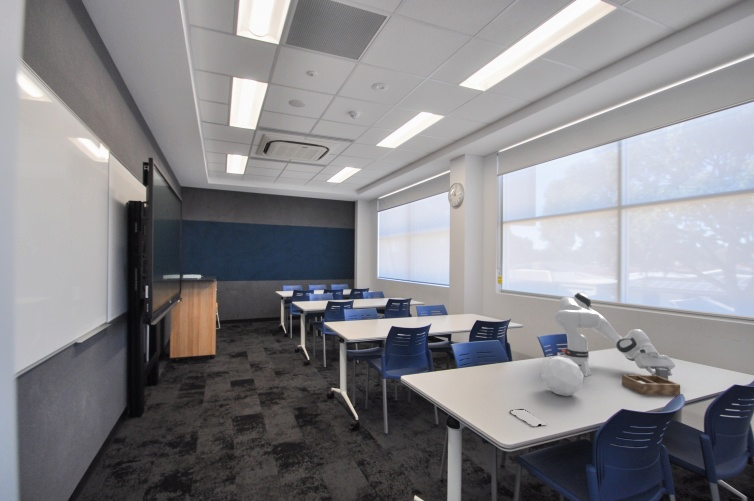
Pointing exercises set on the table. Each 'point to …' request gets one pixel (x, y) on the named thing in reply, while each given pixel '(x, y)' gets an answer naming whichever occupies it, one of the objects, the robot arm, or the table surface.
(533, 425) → the table surface
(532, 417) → the table surface
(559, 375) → the geometric polyhedron
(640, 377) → the parts box
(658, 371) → the connector
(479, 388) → the table surface
